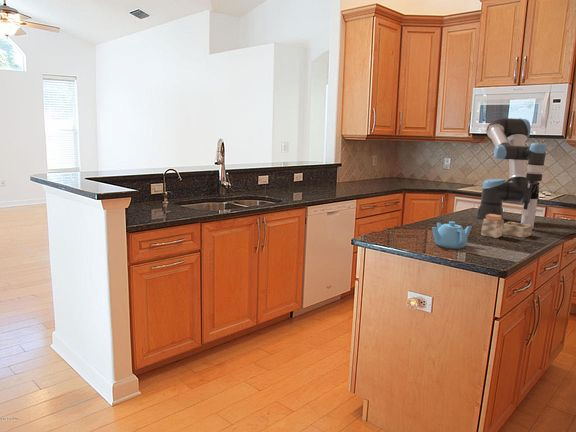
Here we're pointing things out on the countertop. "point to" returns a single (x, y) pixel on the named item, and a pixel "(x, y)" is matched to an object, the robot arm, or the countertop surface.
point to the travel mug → (530, 211)
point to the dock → (505, 229)
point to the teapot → (450, 235)
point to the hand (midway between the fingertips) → (528, 214)
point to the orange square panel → (493, 217)
